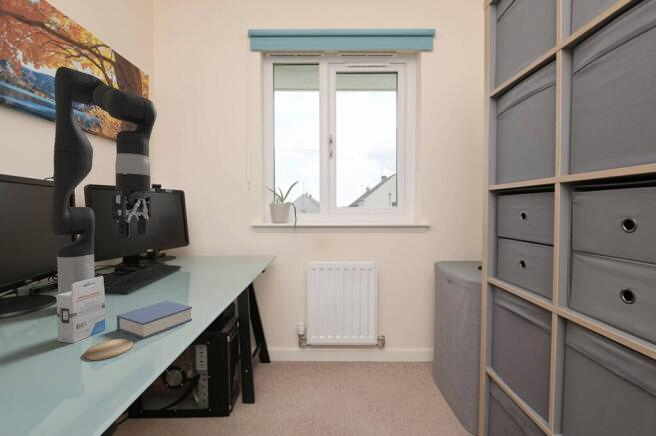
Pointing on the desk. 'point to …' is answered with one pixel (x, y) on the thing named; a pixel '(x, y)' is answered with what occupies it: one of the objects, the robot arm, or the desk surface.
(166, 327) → the navy book
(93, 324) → the ink box
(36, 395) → the desk surface
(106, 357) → the cork coaster
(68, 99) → the robot arm
